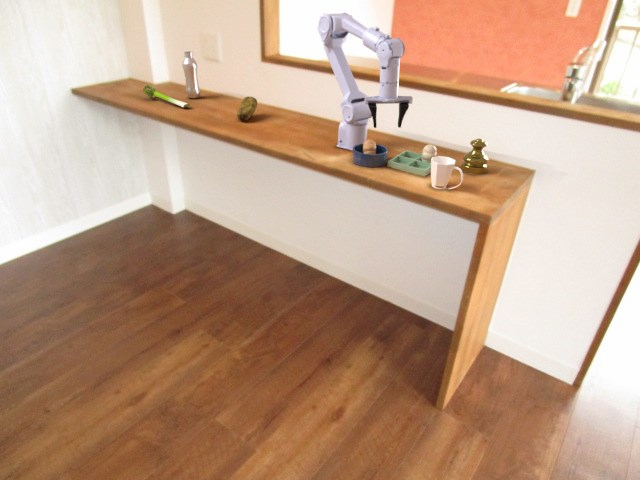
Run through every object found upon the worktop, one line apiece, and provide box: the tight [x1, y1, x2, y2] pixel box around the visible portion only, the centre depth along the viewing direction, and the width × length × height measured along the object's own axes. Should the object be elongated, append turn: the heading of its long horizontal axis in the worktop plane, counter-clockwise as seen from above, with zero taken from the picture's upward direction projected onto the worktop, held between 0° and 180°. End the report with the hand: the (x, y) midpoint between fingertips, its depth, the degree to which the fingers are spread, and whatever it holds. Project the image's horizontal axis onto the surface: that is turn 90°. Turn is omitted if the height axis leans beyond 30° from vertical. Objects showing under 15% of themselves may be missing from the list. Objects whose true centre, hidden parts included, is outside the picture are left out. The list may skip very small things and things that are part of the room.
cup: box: [430, 155, 464, 191], centre depth 129 cm, size 7×10×8 cm
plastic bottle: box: [181, 51, 201, 99], centre depth 208 cm, size 6×7×20 cm
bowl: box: [351, 143, 389, 168], centre depth 146 cm, size 11×11×4 cm
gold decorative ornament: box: [460, 138, 489, 175], centre depth 141 cm, size 7×7×10 cm
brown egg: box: [363, 138, 377, 154], centre depth 147 cm, size 4×4×7 cm
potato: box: [236, 96, 258, 122], centre depth 184 cm, size 8×13×8 cm, turn 151°
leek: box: [142, 84, 191, 109], centre depth 204 cm, size 6×7×30 cm
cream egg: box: [421, 143, 438, 163], centre depth 144 cm, size 4×4×7 cm
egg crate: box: [386, 149, 431, 177], centre depth 144 cm, size 13×13×2 cm
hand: (387, 127), depth 145 cm, fingers open, 7 cm apart
